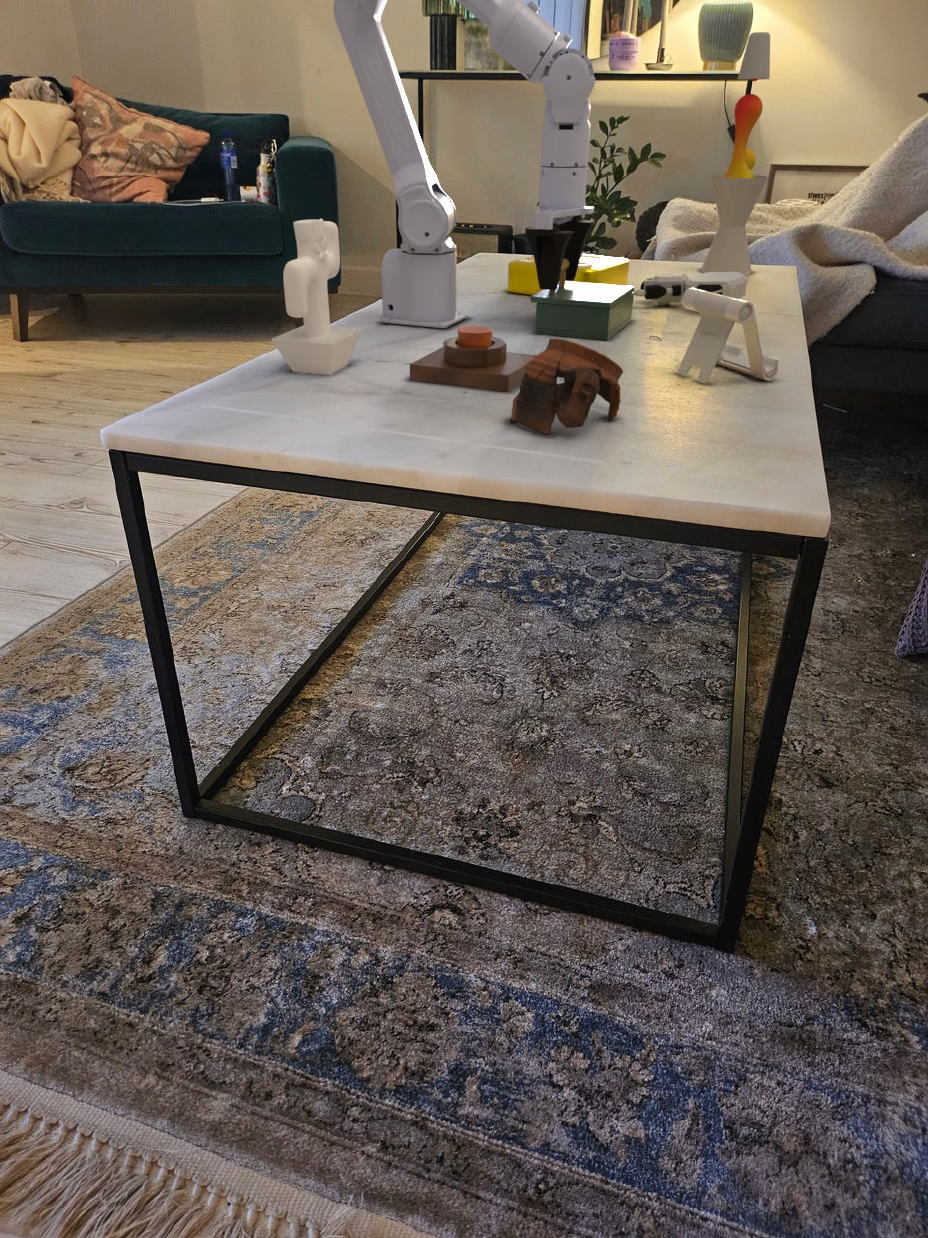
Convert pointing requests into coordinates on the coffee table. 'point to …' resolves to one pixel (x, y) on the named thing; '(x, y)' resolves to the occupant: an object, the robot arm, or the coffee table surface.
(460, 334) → the button
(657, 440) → the coffee table surface
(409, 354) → the coffee table surface
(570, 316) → the enamel box
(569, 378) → the brown arched sculpture
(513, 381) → the control block
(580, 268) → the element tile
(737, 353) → the tablet stand
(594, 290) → the lid
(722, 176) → the lava lamp
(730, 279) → the robot toy
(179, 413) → the coffee table surface
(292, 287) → the figurine
